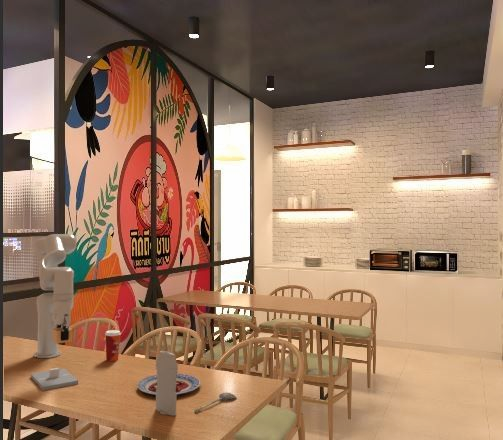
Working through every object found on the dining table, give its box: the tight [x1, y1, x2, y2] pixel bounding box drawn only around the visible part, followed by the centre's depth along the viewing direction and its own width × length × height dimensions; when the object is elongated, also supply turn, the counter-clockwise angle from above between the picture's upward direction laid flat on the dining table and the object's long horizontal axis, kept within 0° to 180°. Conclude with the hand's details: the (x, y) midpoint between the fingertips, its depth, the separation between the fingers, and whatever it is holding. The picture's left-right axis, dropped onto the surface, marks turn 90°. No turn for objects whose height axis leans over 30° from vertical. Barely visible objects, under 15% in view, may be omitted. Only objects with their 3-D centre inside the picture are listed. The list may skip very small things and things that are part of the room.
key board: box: [30, 367, 79, 392], centre depth 200 cm, size 20×14×5 cm
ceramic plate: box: [136, 373, 201, 396], centre depth 194 cm, size 26×26×3 cm
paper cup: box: [104, 329, 122, 362], centre depth 233 cm, size 8×8×14 cm
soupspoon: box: [194, 392, 238, 414], centre depth 178 cm, size 22×3×7 cm
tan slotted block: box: [52, 327, 74, 344], centre depth 203 cm, size 7×7×5 cm
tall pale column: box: [155, 350, 179, 417], centre depth 169 cm, size 11×4×22 cm, turn 56°
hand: (61, 338), depth 202 cm, fingers closed on tan slotted block, 6 cm apart
